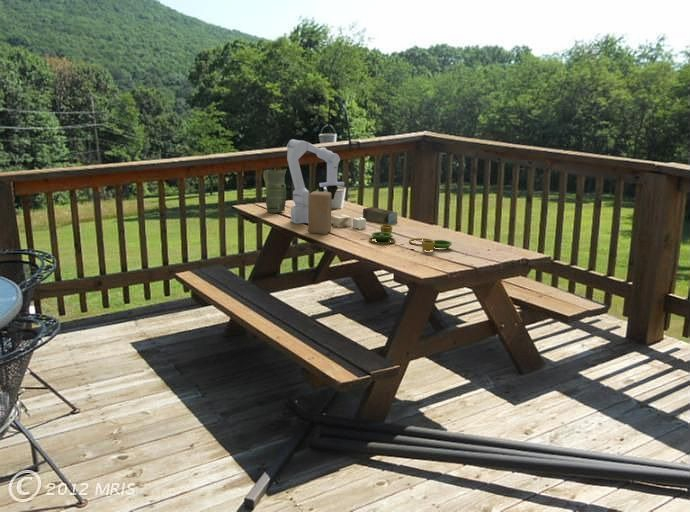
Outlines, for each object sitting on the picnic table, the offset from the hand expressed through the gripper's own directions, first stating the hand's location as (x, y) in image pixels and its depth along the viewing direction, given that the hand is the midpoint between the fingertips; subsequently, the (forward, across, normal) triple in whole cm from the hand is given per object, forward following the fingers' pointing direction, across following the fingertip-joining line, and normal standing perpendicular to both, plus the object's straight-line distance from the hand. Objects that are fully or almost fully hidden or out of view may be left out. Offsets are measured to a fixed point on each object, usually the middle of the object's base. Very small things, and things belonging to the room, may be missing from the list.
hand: (331, 199), depth 371 cm
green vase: (+11, -23, +27) cm, 37 cm away
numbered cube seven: (+10, +2, -29) cm, 31 cm away
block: (+11, -22, -31) cm, 39 cm away
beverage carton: (+11, +21, -18) cm, 30 cm away
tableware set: (+11, +6, -68) cm, 70 cm away
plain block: (+11, -4, -20) cm, 23 cm away
